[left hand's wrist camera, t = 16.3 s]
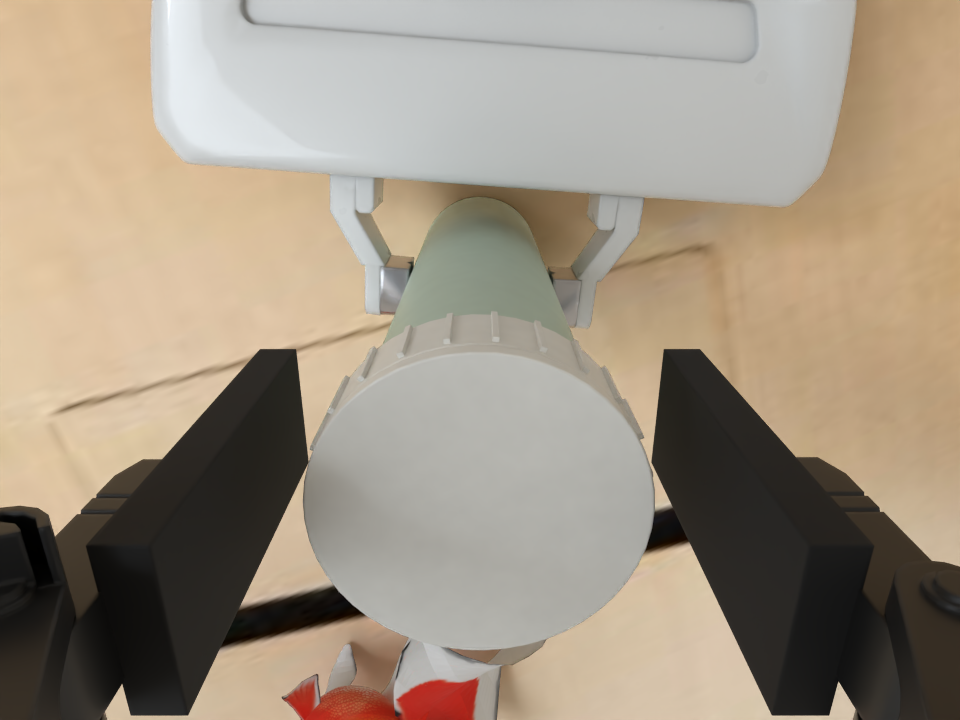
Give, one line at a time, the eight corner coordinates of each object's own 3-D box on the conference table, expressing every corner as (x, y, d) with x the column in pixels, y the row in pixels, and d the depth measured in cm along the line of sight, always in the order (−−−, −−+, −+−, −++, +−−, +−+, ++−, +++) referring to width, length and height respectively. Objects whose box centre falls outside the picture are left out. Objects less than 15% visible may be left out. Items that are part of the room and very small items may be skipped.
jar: (460, 325, 30) (431, 642, 12) (403, 233, 28) (278, 445, 11) (554, 273, 29) (668, 535, 11) (501, 175, 27) (537, 304, 10)
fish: (200, 633, 30) (247, 871, 23) (497, 500, 35) (607, 662, 29) (259, 727, 37) (309, 932, 30) (501, 604, 42) (590, 755, 35)
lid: (697, 449, 12) (734, 507, 10) (487, 627, 14) (488, 703, 12) (468, 240, 11) (466, 267, 9) (262, 464, 12) (226, 525, 10)
